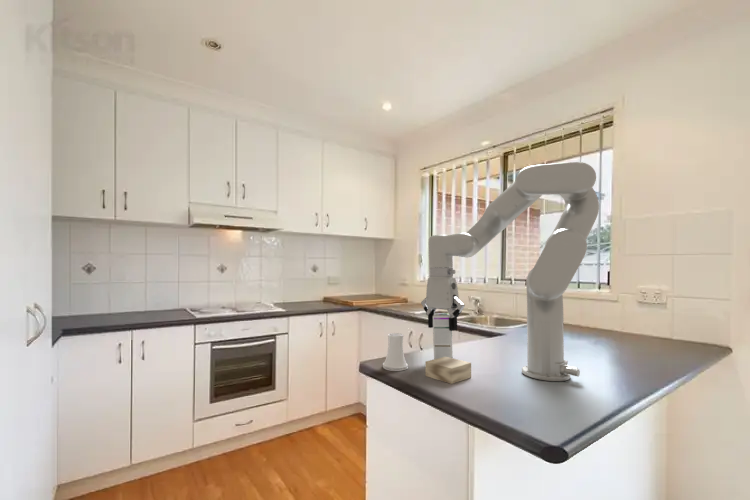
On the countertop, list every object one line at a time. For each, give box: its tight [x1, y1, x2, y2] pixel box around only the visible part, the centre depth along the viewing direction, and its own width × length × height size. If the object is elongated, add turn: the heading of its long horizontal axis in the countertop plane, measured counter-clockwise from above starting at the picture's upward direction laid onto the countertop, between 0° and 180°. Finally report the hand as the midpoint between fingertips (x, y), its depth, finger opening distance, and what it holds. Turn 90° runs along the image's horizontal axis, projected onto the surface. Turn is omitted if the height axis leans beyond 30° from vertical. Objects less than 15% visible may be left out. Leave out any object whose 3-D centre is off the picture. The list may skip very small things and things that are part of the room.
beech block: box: [424, 357, 472, 385], centre depth 102 cm, size 9×9×4 cm
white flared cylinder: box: [382, 332, 409, 372], centre depth 110 cm, size 8×8×10 cm
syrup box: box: [432, 312, 454, 360], centre depth 115 cm, size 6×6×14 cm
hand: (442, 328), depth 115 cm, fingers closed on syrup box, 7 cm apart
